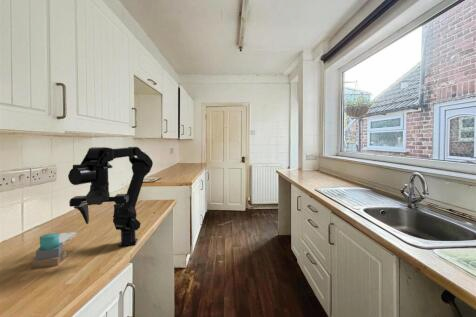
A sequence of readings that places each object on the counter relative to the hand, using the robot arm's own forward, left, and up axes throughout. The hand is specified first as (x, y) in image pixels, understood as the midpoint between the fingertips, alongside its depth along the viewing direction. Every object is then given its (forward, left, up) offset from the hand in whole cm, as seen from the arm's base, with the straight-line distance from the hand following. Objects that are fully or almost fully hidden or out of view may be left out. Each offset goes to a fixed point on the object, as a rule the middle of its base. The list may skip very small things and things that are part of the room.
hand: (101, 222), depth 95 cm
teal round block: (0, -17, -7) cm, 19 cm away
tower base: (0, -17, -14) cm, 22 cm away
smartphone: (-24, -23, -14) cm, 36 cm away
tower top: (0, -17, -10) cm, 20 cm away
